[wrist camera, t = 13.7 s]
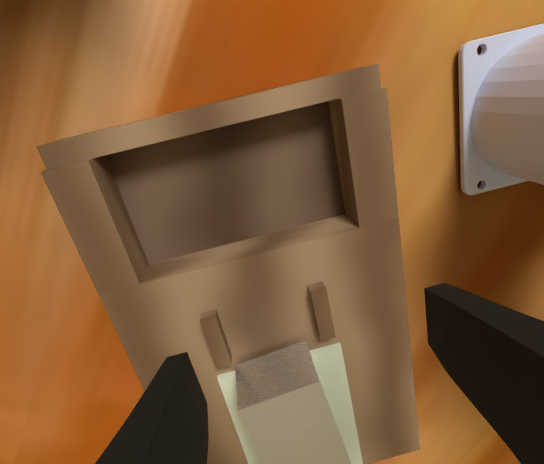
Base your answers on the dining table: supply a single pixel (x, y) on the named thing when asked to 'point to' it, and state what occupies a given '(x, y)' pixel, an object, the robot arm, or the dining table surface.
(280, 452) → the bar
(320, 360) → the pad
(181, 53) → the dining table surface
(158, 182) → the board
